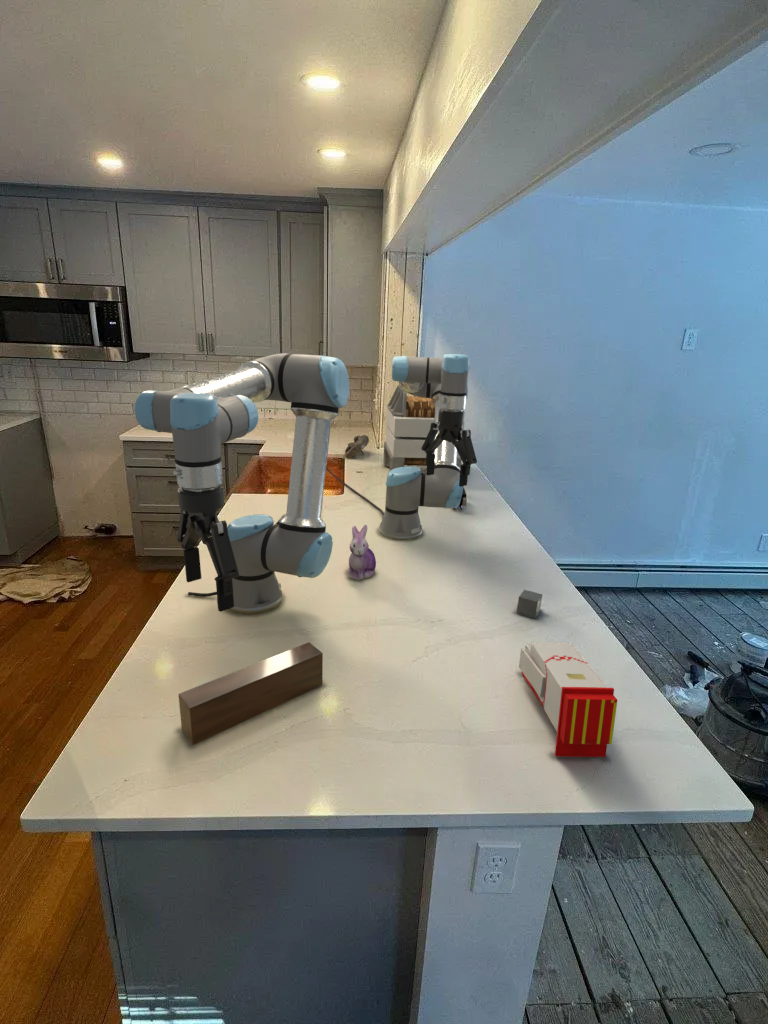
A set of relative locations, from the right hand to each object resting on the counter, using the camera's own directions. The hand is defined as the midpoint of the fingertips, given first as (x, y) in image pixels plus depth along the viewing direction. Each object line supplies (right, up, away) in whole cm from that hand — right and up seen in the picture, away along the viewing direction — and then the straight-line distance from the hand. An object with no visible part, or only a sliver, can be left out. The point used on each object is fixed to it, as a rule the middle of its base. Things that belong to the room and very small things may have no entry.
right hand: (446, 480), depth 171 cm
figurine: (-25, -28, -2) cm, 38 cm away
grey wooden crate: (-1, +9, +104) cm, 104 cm away
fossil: (-33, +21, +134) cm, 139 cm away
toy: (+16, -49, -56) cm, 76 cm away
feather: (-56, -12, +38) cm, 69 cm away
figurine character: (+11, -7, +60) cm, 61 cm away
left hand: (-51, -25, -66) cm, 87 cm away
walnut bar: (-44, -48, -59) cm, 88 cm away
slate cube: (+20, -36, -20) cm, 46 cm away
